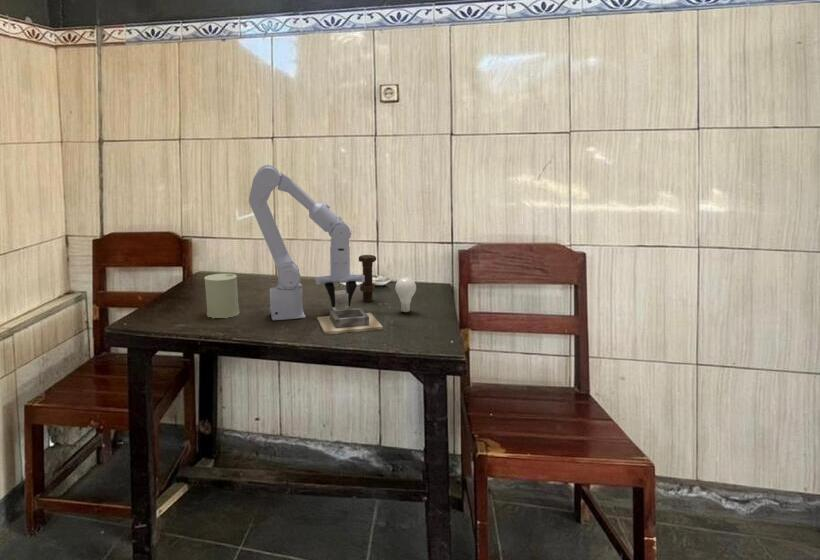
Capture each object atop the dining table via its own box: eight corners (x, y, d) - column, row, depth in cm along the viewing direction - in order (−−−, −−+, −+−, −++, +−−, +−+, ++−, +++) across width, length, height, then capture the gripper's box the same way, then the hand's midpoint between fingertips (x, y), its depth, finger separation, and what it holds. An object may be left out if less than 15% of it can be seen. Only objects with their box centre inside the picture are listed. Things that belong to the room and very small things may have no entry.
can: (245, 314, 161) (243, 275, 158) (216, 320, 154) (213, 280, 152) (229, 308, 167) (227, 270, 164) (201, 314, 160) (198, 275, 158)
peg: (335, 313, 161) (335, 294, 160) (333, 309, 165) (332, 290, 163) (348, 312, 162) (348, 293, 161) (346, 309, 166) (345, 290, 165)
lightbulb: (419, 311, 166) (419, 276, 164) (410, 316, 161) (410, 280, 158) (400, 308, 169) (401, 274, 166) (391, 313, 163) (391, 278, 161)
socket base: (324, 334, 144) (324, 323, 143) (317, 319, 157) (316, 309, 156) (382, 329, 148) (382, 318, 148) (370, 315, 161) (370, 305, 161)
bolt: (372, 303, 174) (372, 258, 170) (357, 302, 175) (357, 257, 171) (377, 299, 179) (377, 254, 176) (362, 298, 180) (362, 254, 177)
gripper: (317, 265, 154) (318, 311, 157) (366, 263, 158) (367, 307, 162) (314, 261, 161) (315, 305, 164) (361, 259, 165) (361, 301, 168)
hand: (340, 306), depth 163 cm, fingers closed on peg, 4 cm apart
